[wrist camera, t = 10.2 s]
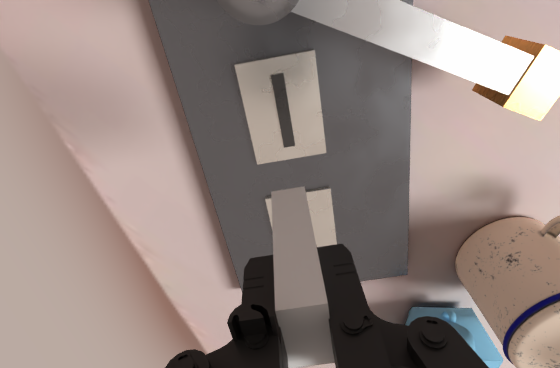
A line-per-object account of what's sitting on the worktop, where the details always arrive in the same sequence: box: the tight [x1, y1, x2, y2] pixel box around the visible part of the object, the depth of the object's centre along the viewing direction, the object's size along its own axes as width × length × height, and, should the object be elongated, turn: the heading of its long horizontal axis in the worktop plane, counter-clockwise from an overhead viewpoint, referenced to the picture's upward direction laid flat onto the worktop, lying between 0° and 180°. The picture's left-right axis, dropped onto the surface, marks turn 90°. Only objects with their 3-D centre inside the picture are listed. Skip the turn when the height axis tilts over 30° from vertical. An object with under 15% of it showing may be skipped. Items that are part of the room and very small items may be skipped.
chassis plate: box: [149, 0, 413, 291], centre depth 25 cm, size 28×15×2 cm, turn 10°
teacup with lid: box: [455, 216, 560, 368], centre depth 26 cm, size 12×9×12 cm
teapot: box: [405, 307, 503, 368], centre depth 34 cm, size 12×6×8 cm, turn 176°
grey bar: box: [217, 0, 560, 121], centre depth 18 cm, size 18×4×6 cm, turn 71°
